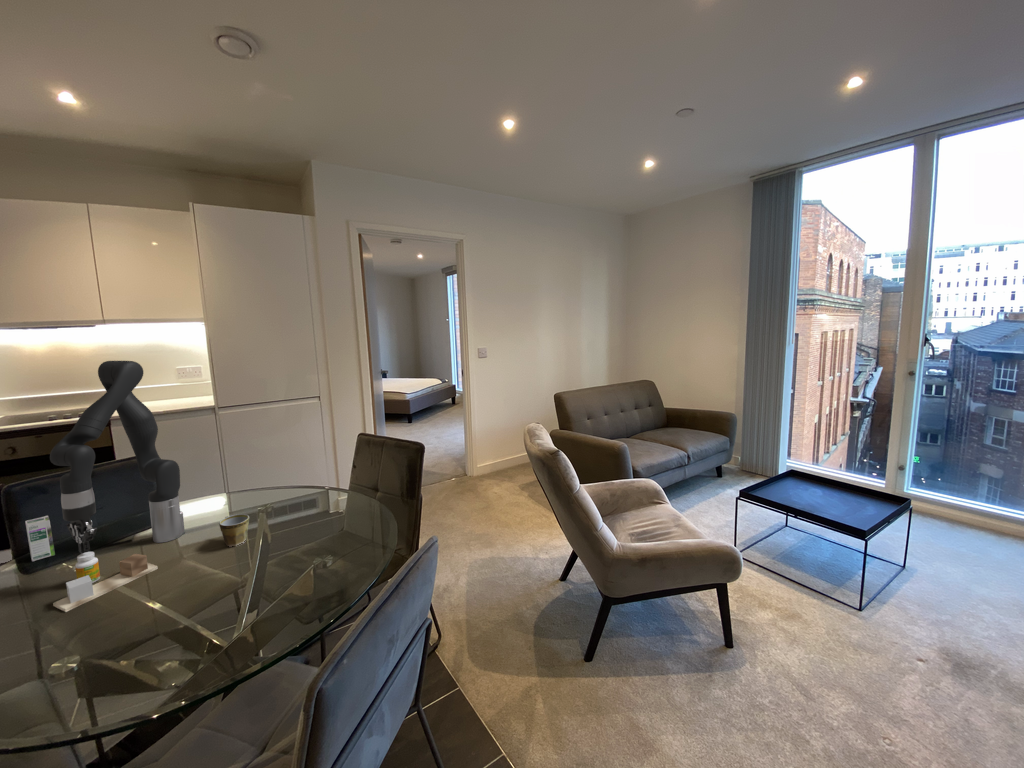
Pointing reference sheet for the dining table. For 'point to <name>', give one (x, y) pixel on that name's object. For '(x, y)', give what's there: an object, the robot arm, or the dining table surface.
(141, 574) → the birch strip
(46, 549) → the syrup box
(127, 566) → the walnut block
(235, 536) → the ceramic cup
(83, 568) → the supplement bottle
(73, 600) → the grey block
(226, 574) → the dining table surface
